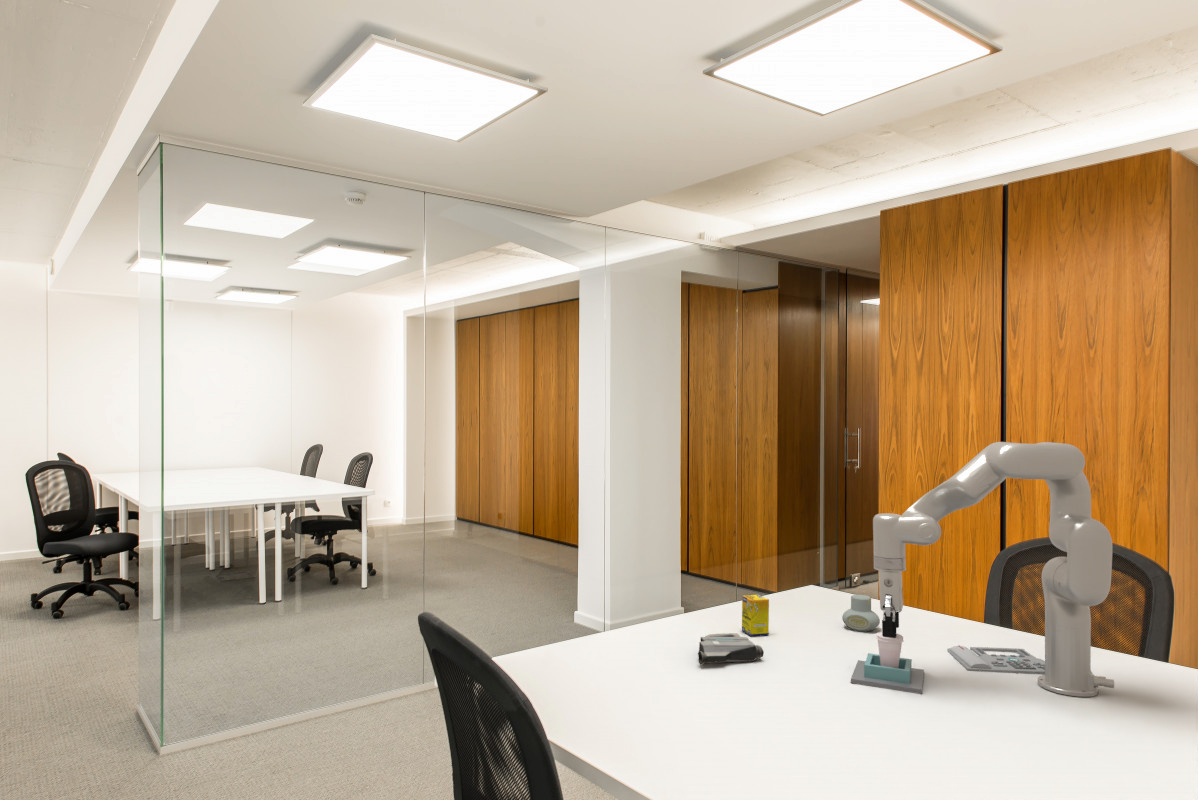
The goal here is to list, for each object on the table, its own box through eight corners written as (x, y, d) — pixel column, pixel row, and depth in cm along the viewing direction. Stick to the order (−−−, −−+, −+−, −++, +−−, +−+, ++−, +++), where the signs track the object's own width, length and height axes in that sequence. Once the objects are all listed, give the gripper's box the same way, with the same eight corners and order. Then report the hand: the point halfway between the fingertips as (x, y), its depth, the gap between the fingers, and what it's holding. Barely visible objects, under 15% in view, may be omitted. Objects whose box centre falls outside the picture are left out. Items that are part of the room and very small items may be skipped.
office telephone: (968, 663, 196) (941, 641, 216) (968, 674, 196) (941, 650, 216) (1062, 667, 194) (1026, 643, 214) (1062, 677, 194) (1026, 653, 214)
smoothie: (898, 680, 185) (899, 623, 185) (872, 674, 189) (872, 618, 189) (906, 673, 190) (906, 617, 190) (880, 668, 194) (880, 613, 194)
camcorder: (769, 662, 201) (769, 642, 202) (704, 671, 193) (704, 650, 193) (734, 645, 216) (734, 627, 216) (671, 653, 208) (672, 634, 208)
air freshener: (882, 628, 235) (882, 596, 235) (876, 635, 228) (876, 601, 228) (846, 623, 240) (846, 591, 241) (839, 629, 233) (839, 596, 234)
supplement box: (741, 631, 229) (741, 595, 229) (758, 630, 231) (759, 594, 231) (750, 637, 223) (751, 600, 223) (768, 635, 225) (769, 598, 225)
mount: (923, 673, 193) (923, 657, 193) (921, 693, 179) (921, 676, 179) (858, 663, 200) (858, 648, 200) (850, 682, 186) (850, 666, 186)
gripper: (903, 570, 181) (905, 643, 180) (907, 558, 196) (908, 624, 196) (870, 568, 184) (871, 639, 183) (876, 556, 200) (878, 621, 199)
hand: (890, 631), depth 190 cm, fingers open, 9 cm apart
